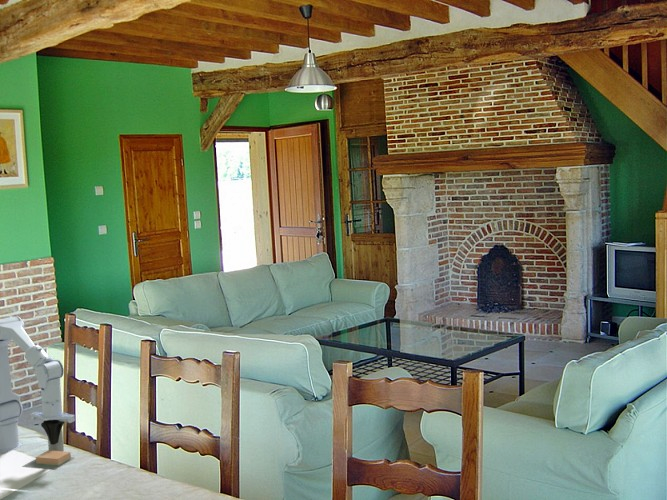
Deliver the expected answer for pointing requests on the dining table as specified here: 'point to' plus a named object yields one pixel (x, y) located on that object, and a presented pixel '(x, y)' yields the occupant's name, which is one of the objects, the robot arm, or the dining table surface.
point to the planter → (59, 445)
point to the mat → (35, 465)
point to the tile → (53, 458)
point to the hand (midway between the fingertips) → (54, 443)
